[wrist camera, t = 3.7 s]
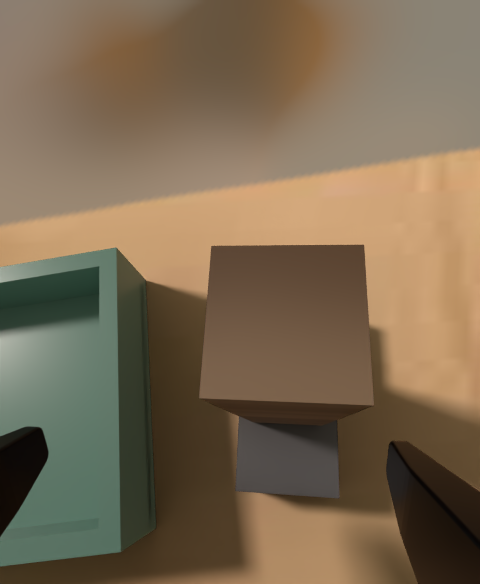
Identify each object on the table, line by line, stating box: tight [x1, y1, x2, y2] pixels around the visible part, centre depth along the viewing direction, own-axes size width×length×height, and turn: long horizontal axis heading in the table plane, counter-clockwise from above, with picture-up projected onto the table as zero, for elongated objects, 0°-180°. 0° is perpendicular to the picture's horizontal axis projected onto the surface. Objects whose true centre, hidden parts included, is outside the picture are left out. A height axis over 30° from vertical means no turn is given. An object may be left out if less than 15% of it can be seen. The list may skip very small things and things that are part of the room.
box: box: [0, 248, 156, 566], centre depth 18 cm, size 12×12×4 cm
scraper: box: [199, 245, 374, 498], centre depth 13 cm, size 8×4×13 cm, turn 177°
